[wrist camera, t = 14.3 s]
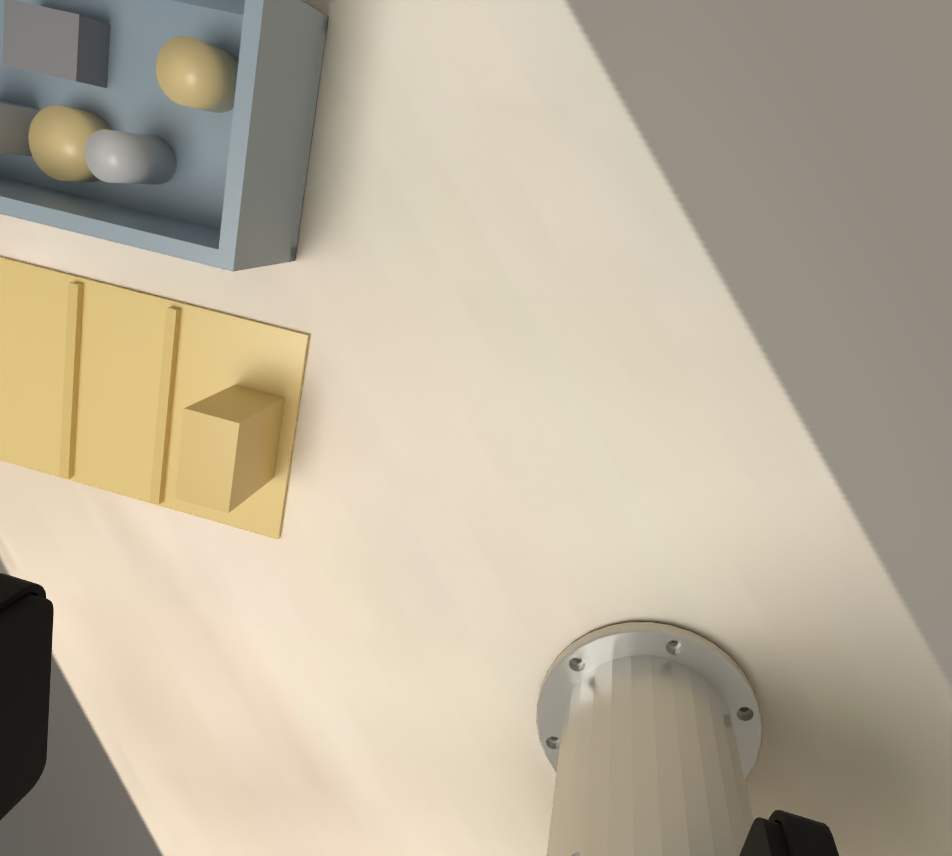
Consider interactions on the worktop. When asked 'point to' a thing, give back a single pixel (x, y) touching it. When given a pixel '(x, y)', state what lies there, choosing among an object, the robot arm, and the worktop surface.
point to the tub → (162, 122)
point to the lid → (148, 396)
